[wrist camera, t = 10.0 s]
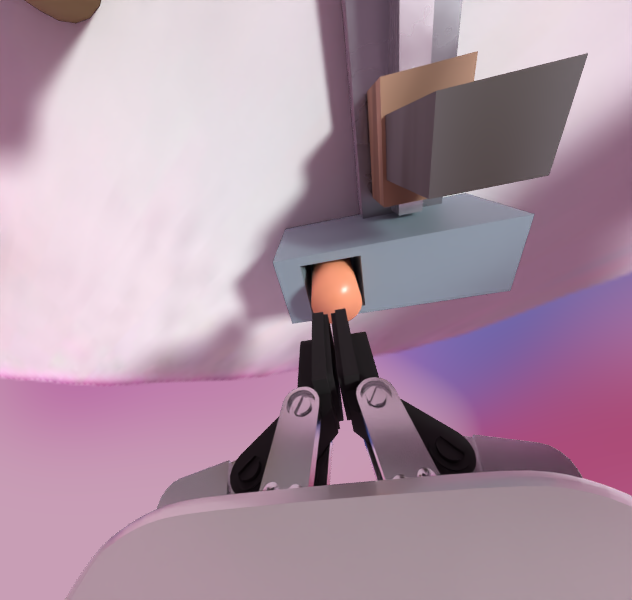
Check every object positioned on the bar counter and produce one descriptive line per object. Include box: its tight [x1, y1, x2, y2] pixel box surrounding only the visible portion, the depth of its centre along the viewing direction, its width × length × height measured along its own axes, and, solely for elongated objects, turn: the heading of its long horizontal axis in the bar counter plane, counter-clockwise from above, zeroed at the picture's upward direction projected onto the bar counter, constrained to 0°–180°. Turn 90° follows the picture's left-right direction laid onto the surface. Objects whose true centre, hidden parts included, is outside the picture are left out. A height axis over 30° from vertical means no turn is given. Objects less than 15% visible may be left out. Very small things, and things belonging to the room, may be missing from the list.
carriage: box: [367, 51, 588, 207], centre depth 11 cm, size 4×6×9 cm
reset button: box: [311, 258, 362, 324], centre depth 16 cm, size 3×3×6 cm
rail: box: [341, 0, 462, 219], centre depth 12 cm, size 6×19×4 cm, turn 11°
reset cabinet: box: [273, 193, 534, 323], centre depth 18 cm, size 15×5×7 cm, turn 101°
